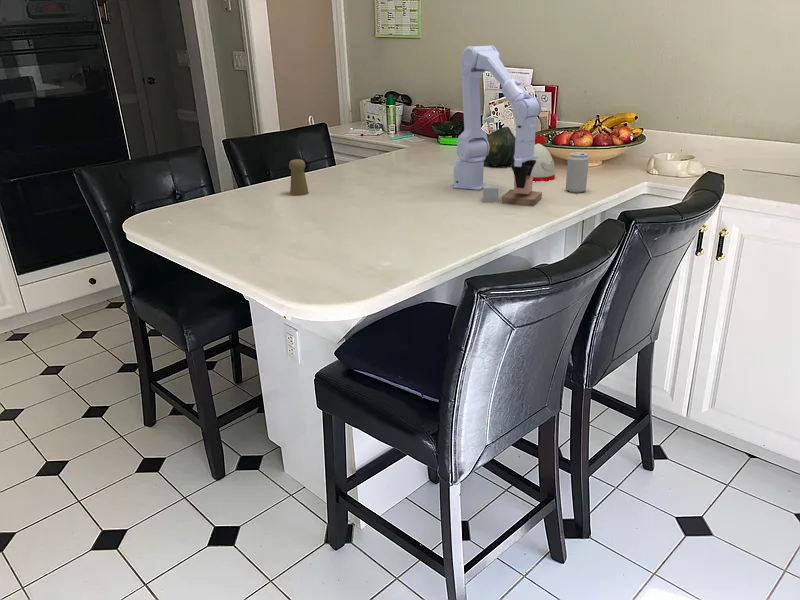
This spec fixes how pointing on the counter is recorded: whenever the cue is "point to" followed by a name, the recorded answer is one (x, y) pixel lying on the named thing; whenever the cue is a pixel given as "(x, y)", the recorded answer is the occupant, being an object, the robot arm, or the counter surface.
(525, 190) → the terracotta cube
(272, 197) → the counter surface
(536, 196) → the walnut plinth
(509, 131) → the squash
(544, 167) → the kitchen timer
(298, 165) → the cork
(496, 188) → the grey cube
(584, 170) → the beverage can
